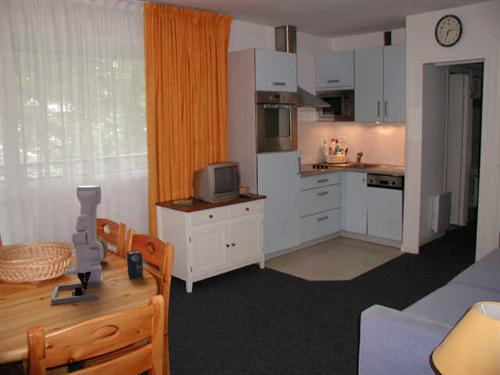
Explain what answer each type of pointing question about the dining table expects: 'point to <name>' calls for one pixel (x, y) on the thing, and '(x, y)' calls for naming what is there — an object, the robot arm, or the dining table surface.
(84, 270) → the robot arm
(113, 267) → the dining table surface
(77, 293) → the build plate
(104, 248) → the cantaloupe
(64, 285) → the truck bay
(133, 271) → the soda can
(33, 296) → the dining table surface
